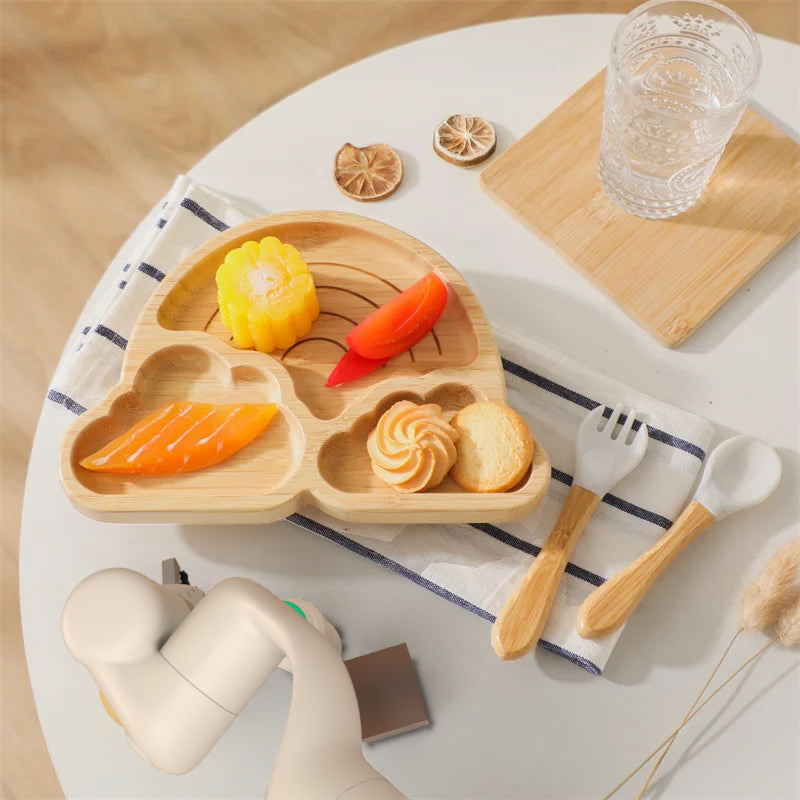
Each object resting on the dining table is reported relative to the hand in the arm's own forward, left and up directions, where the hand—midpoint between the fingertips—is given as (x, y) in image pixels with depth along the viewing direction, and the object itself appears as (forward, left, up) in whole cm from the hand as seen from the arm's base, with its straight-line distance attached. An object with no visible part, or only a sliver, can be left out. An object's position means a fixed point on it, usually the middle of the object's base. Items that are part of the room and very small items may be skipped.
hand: (206, 656), depth 92 cm
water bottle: (0, -9, -18) cm, 20 cm away
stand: (-9, -16, -18) cm, 26 cm away
